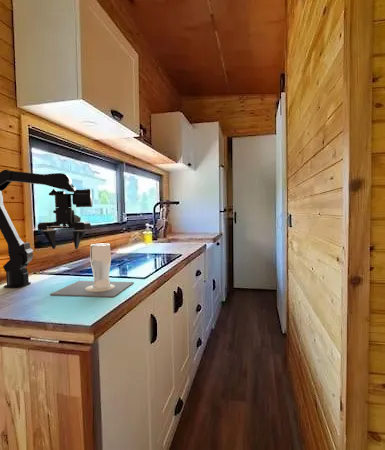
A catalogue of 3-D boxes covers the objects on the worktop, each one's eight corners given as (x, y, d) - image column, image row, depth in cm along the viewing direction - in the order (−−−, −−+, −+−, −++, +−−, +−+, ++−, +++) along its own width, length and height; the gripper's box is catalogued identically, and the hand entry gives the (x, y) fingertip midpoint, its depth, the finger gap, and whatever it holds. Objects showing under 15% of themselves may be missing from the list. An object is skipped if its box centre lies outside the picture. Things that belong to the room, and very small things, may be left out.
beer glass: (96, 290, 102) (95, 246, 101) (87, 287, 107) (86, 244, 106) (115, 286, 107) (114, 244, 106) (106, 283, 112) (104, 242, 111)
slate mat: (50, 295, 99) (50, 293, 99) (79, 281, 117) (79, 280, 117) (114, 297, 96) (113, 295, 96) (133, 283, 114) (133, 281, 113)
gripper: (96, 207, 120) (98, 246, 121) (53, 207, 123) (55, 246, 124) (82, 207, 109) (84, 250, 110) (35, 208, 112) (37, 249, 113)
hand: (65, 248), depth 115 cm, fingers open, 9 cm apart
